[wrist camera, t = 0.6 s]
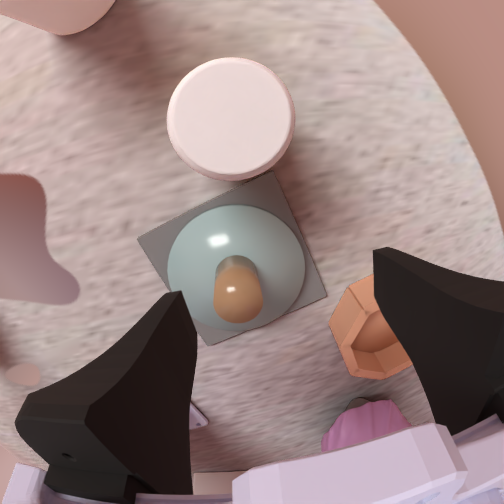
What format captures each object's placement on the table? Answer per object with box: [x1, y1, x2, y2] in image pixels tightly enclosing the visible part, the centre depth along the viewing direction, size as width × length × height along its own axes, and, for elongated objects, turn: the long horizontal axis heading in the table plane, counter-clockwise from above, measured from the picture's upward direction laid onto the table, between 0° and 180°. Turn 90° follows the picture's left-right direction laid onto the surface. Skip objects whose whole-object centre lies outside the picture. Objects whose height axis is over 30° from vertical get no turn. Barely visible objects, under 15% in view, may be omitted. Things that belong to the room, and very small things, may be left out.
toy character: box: [321, 398, 412, 452], centre depth 21 cm, size 12×10×20 cm
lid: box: [167, 204, 305, 331], centre depth 20 cm, size 9×9×4 cm
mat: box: [137, 171, 327, 346], centre depth 22 cm, size 10×10×1 cm
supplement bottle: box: [167, 57, 295, 181], centre depth 14 cm, size 5×5×10 cm
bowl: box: [329, 274, 413, 380], centre depth 24 cm, size 8×8×3 cm
